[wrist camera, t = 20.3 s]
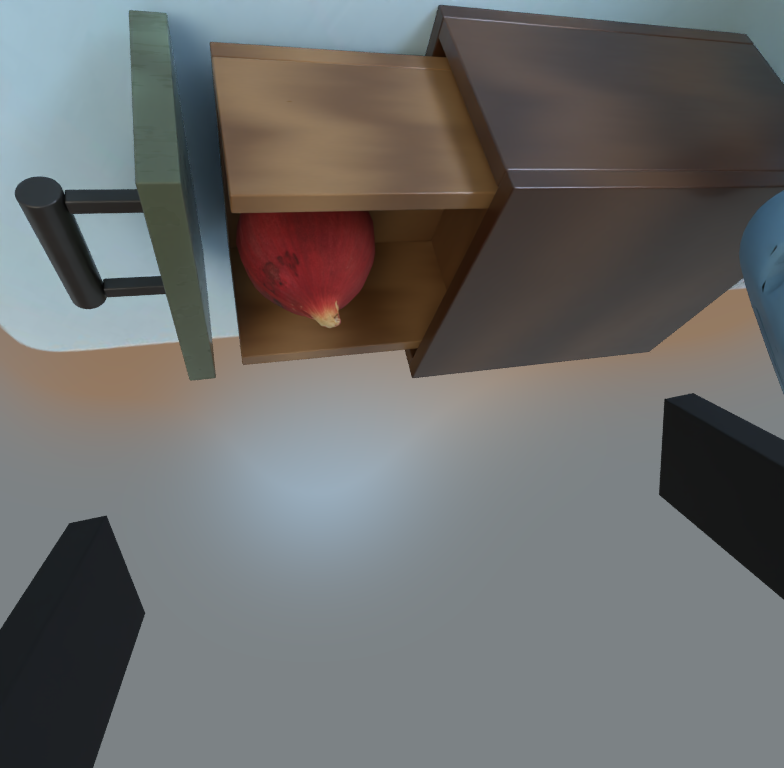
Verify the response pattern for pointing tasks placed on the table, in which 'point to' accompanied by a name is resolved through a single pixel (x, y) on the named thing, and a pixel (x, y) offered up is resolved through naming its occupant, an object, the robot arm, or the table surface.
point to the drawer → (288, 189)
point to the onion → (308, 259)
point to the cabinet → (600, 183)
